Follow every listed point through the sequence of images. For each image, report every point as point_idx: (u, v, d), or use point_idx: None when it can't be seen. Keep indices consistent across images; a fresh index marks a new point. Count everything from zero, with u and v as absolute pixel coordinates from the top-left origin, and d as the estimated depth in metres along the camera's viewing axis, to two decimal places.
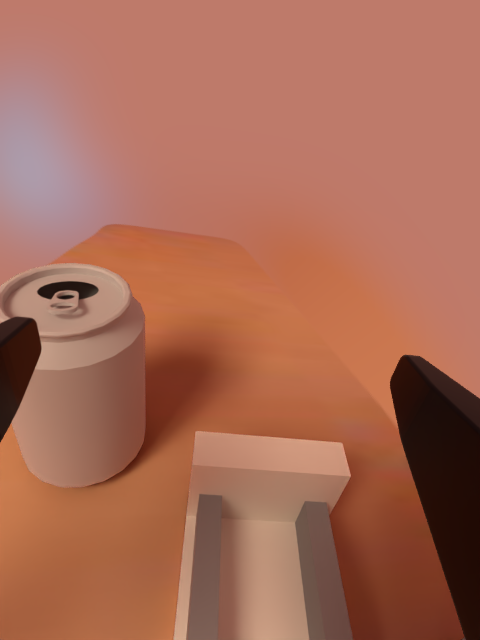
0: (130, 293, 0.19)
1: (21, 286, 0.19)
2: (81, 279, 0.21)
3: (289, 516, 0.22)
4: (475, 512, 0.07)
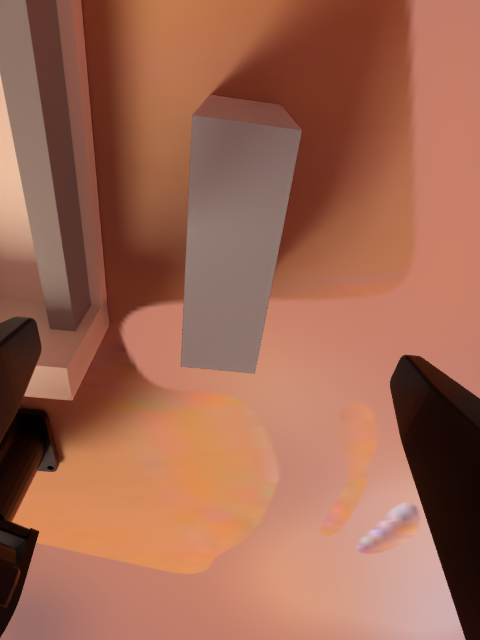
0: None
1: None
2: None
3: None
4: (475, 512, 0.07)
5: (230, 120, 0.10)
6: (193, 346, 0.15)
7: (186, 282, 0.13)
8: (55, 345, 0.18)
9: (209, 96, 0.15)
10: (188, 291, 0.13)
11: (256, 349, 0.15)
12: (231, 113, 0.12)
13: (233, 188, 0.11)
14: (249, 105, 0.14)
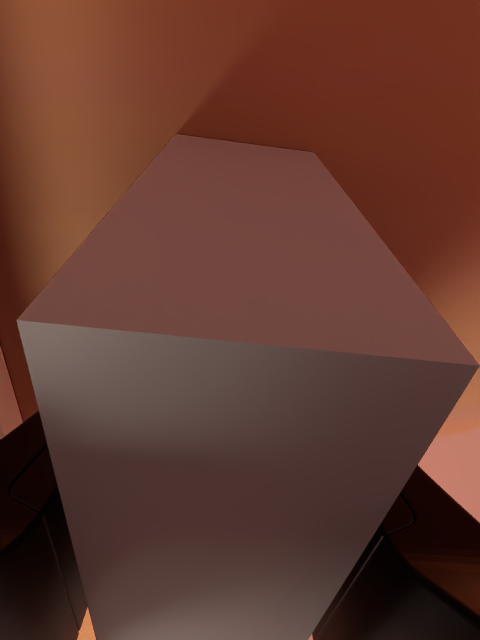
0: None
1: None
2: None
3: None
4: None
5: (185, 331, 0.03)
6: None
7: (98, 628, 0.05)
8: None
9: (170, 142, 0.07)
10: (106, 638, 0.05)
11: None
12: (203, 238, 0.04)
13: (208, 497, 0.03)
14: (254, 169, 0.06)
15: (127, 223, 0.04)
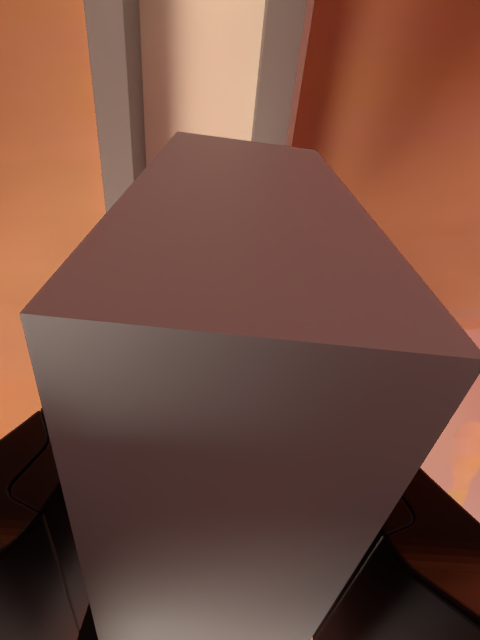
0: None
1: None
2: None
3: None
4: None
5: (190, 324, 0.02)
6: None
7: (100, 627, 0.05)
8: None
9: (171, 139, 0.07)
10: (108, 636, 0.05)
11: None
12: (206, 233, 0.04)
13: (211, 494, 0.03)
14: (256, 166, 0.06)
15: (130, 218, 0.04)
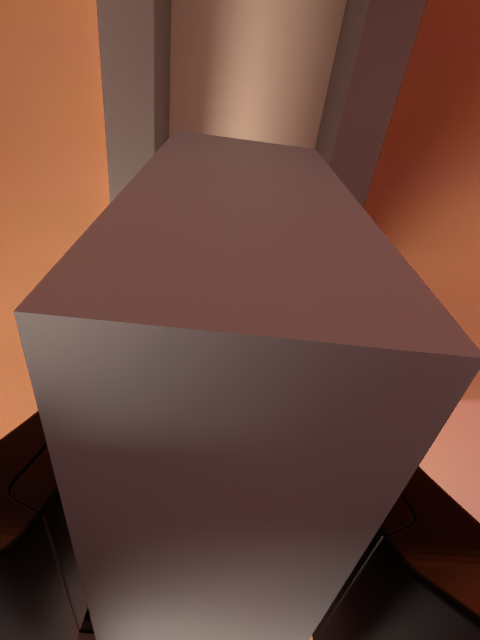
0: None
1: None
2: None
3: None
4: None
5: (186, 322, 0.02)
6: None
7: (97, 627, 0.05)
8: None
9: (170, 138, 0.07)
10: (106, 637, 0.05)
11: None
12: (203, 232, 0.04)
13: (208, 493, 0.03)
14: (255, 165, 0.06)
15: (127, 216, 0.04)
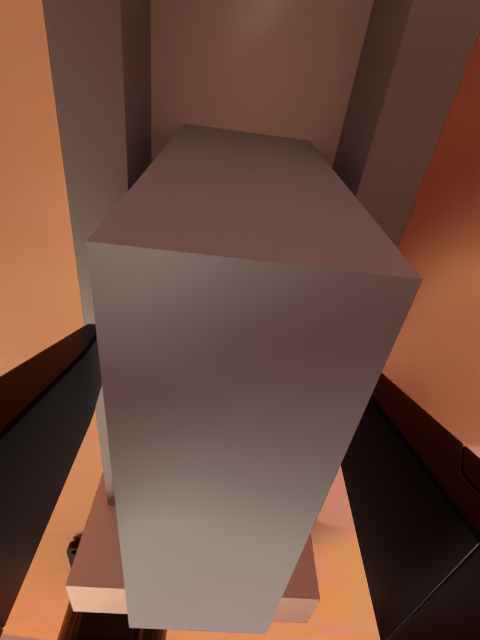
0: None
1: None
2: None
3: None
4: (387, 506, 0.07)
5: (206, 252, 0.03)
6: (149, 608, 0.08)
7: (123, 539, 0.06)
8: None
9: (181, 130, 0.08)
10: (129, 550, 0.06)
11: (269, 611, 0.08)
12: (215, 199, 0.05)
13: (219, 400, 0.04)
14: (255, 152, 0.07)
15: (154, 187, 0.05)
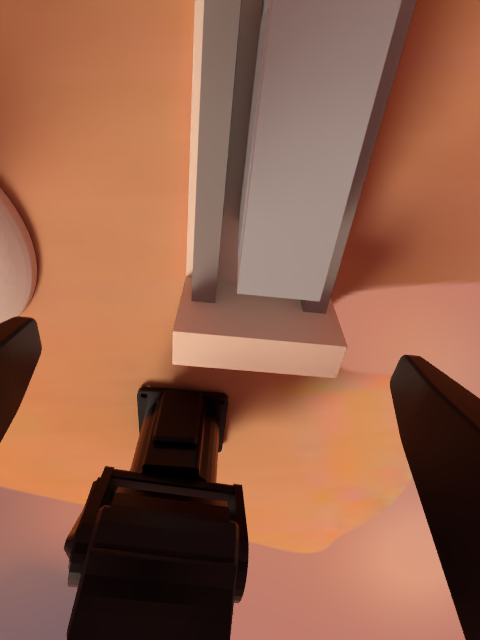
0: None
1: None
2: None
3: None
4: (475, 512, 0.07)
5: None
6: (253, 267, 0.13)
7: (252, 183, 0.11)
8: (320, 326, 0.19)
9: None
10: (253, 195, 0.12)
11: (324, 270, 0.13)
12: None
13: (319, 53, 0.10)
14: None
15: None
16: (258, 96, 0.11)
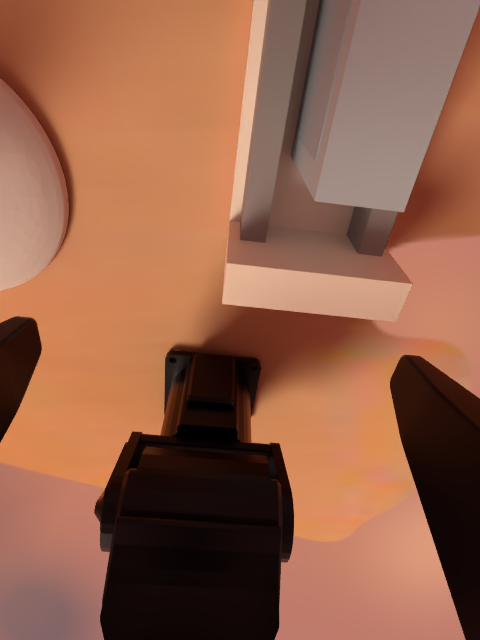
0: None
1: None
2: None
3: None
4: (475, 512, 0.07)
5: None
6: (336, 168, 0.12)
7: (350, 57, 0.10)
8: (379, 266, 0.17)
9: None
10: (349, 73, 0.10)
11: (414, 172, 0.12)
12: None
13: None
14: None
15: None
16: None
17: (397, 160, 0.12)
